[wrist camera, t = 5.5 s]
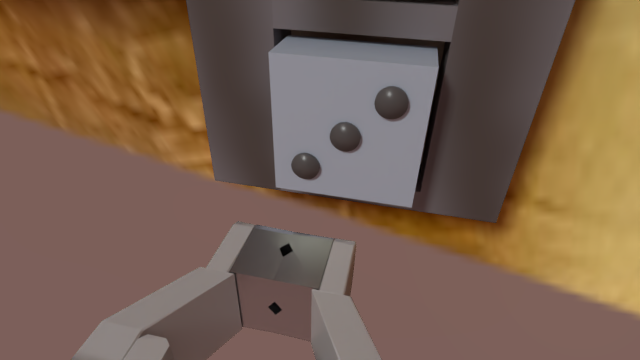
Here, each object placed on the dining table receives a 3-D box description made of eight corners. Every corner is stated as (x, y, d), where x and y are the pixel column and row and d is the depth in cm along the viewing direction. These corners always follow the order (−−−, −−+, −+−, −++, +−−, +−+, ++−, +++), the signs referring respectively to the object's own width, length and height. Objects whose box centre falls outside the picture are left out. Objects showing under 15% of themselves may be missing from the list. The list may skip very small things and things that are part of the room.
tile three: (437, 46, 15) (438, 69, 13) (413, 175, 19) (411, 210, 16) (288, 35, 16) (266, 53, 14) (291, 159, 20) (274, 189, 17)
